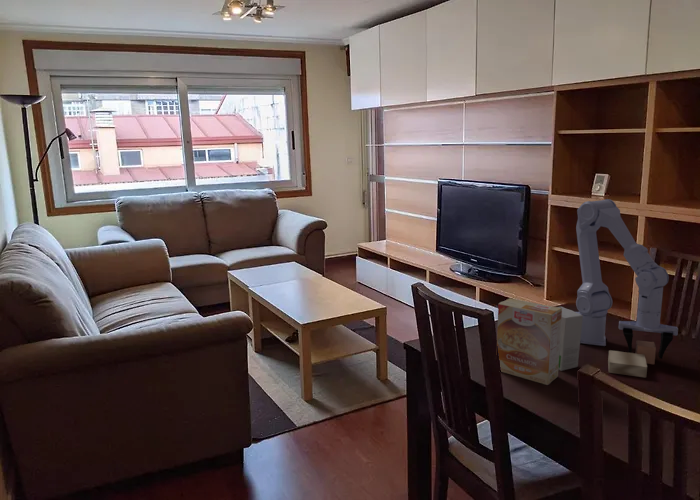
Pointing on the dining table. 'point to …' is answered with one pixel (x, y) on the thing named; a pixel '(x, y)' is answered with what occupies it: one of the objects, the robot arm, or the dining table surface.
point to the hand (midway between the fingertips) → (645, 355)
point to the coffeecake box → (529, 340)
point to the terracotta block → (646, 350)
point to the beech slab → (627, 363)
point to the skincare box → (569, 339)
